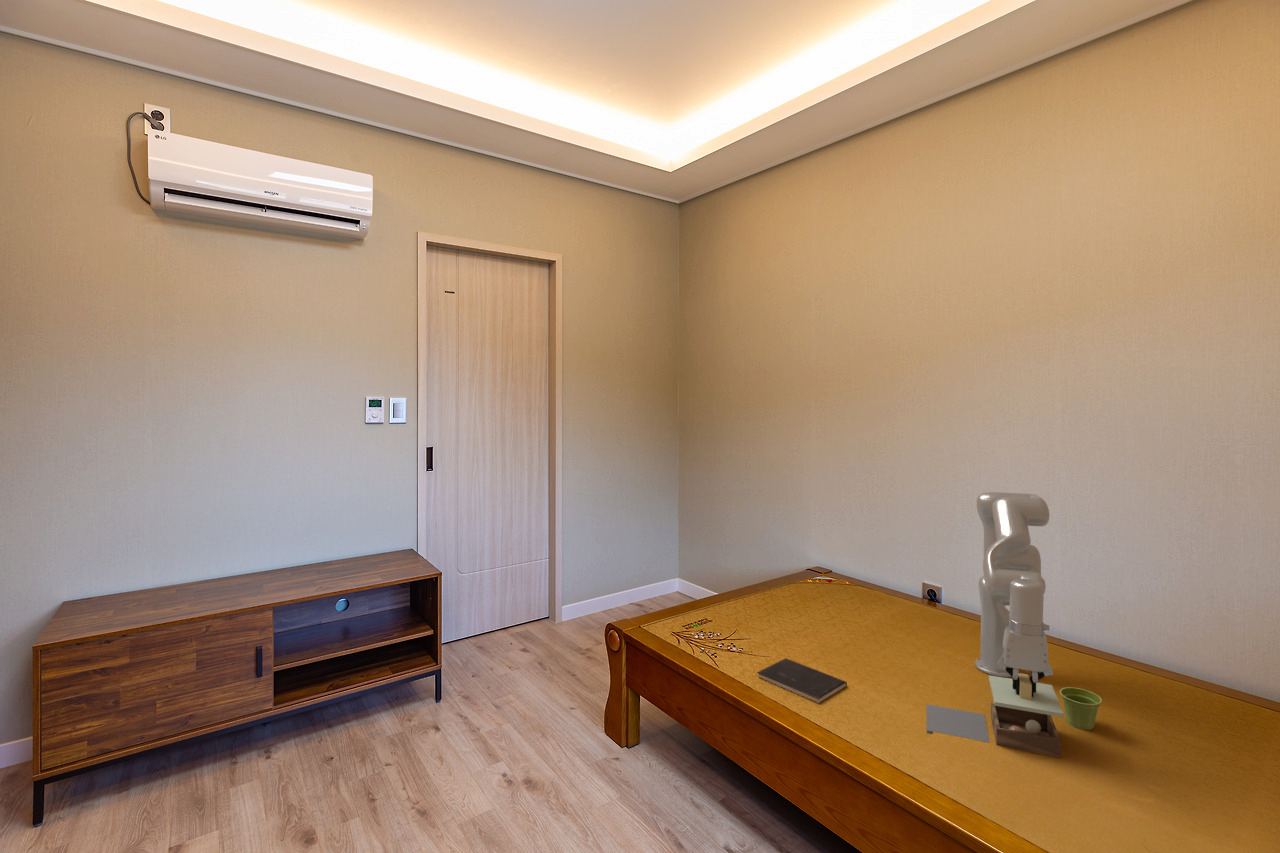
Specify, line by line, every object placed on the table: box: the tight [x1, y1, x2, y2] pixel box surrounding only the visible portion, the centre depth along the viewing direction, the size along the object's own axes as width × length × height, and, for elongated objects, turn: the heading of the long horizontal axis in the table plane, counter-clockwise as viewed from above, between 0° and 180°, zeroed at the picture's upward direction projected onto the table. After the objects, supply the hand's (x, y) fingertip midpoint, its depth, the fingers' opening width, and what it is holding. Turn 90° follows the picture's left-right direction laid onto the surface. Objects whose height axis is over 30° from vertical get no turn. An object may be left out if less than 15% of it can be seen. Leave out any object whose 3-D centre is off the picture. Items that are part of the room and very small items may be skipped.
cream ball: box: [1025, 720, 1041, 734], centre depth 165 cm, size 4×4×4 cm
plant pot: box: [1059, 686, 1103, 731], centre depth 169 cm, size 9×9×9 cm
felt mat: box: [925, 703, 990, 744], centre depth 171 cm, size 15×15×1 cm
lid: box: [988, 672, 1065, 718], centre depth 163 cm, size 15×15×5 cm
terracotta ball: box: [1009, 726, 1024, 732], centre depth 162 cm, size 4×4×4 cm
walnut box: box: [990, 702, 1062, 758], centre depth 164 cm, size 14×14×5 cm
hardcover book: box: [756, 658, 848, 704], centre depth 198 cm, size 16×23×2 cm
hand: (1024, 692), depth 164 cm, fingers closed on lid, 2 cm apart
